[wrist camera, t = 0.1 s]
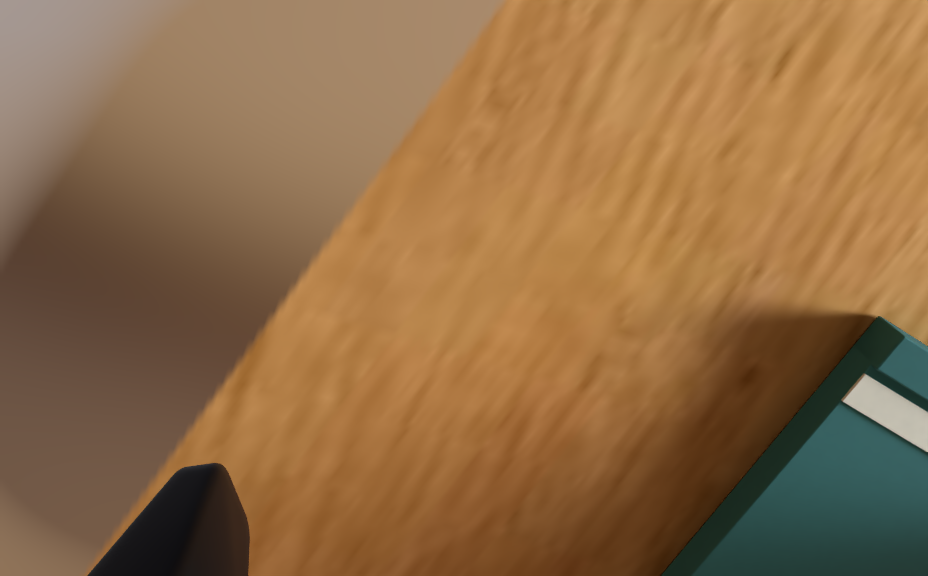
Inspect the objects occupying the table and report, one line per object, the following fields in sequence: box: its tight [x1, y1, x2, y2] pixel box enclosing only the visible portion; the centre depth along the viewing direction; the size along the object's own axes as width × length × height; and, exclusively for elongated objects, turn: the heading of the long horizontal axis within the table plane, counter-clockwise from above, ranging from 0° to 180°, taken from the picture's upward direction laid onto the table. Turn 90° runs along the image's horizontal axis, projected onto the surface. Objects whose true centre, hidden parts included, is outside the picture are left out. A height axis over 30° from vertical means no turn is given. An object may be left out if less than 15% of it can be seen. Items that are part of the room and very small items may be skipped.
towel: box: [661, 316, 928, 576], centre depth 27 cm, size 13×11×2 cm
